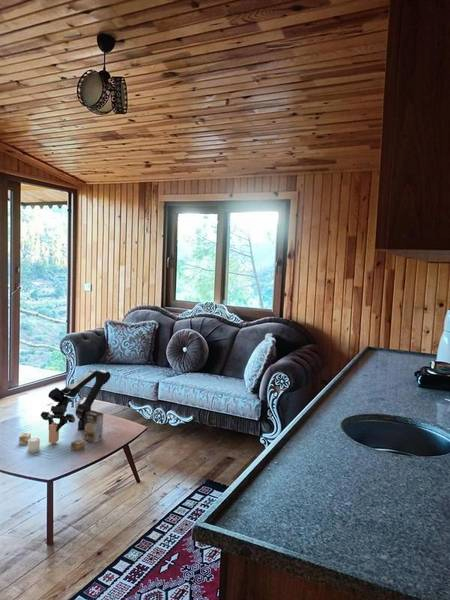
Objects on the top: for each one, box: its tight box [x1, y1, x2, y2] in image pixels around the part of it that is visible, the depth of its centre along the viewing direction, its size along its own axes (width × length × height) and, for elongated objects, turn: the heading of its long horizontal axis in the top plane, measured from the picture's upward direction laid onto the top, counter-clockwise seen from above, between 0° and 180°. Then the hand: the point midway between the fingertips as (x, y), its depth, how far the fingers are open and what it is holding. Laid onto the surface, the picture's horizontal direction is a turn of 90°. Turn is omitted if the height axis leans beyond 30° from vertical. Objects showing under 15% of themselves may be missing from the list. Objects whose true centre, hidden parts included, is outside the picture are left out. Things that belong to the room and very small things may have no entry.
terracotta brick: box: [48, 422, 60, 444], centre depth 255 cm, size 4×4×11 cm
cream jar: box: [27, 437, 41, 454], centre depth 245 cm, size 6×6×6 cm
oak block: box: [18, 432, 32, 445], centre depth 255 cm, size 5×5×4 cm
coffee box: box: [83, 409, 104, 443], centre depth 264 cm, size 9×6×16 cm
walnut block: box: [70, 439, 85, 453], centre depth 250 cm, size 5×5×4 cm
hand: (52, 431), depth 254 cm, fingers closed on terracotta brick, 4 cm apart
